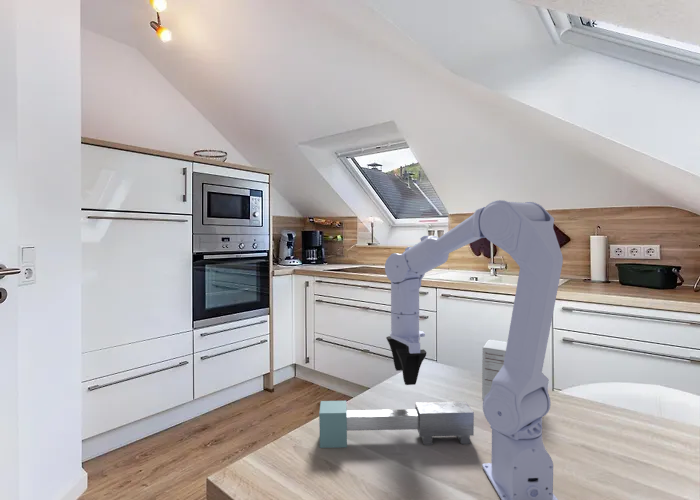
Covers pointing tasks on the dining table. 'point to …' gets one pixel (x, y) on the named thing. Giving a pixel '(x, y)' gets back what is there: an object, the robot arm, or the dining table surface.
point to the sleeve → (445, 420)
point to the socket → (333, 424)
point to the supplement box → (492, 363)
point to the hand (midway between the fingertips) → (405, 376)
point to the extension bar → (382, 419)
